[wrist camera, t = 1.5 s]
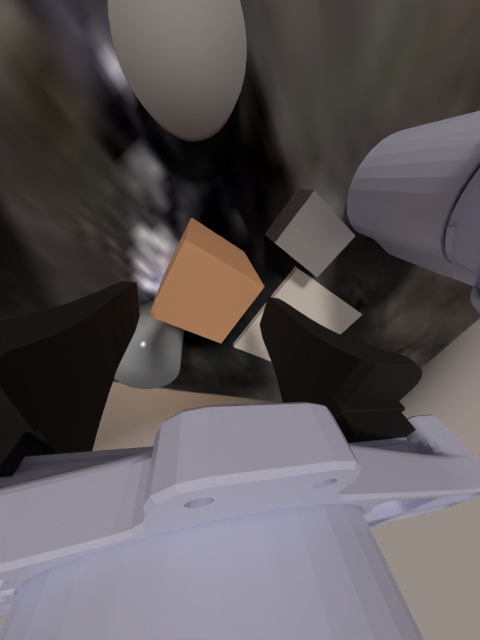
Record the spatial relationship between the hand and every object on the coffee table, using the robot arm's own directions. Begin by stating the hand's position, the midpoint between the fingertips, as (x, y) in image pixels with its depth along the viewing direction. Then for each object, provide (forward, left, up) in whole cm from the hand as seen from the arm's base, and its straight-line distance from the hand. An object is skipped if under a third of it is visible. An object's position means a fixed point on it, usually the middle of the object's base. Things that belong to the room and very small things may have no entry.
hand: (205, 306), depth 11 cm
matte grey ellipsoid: (+6, -9, -8) cm, 13 cm away
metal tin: (-6, -7, -8) cm, 12 cm away
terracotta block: (0, 0, -8) cm, 8 cm away
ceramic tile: (-13, +1, -8) cm, 15 cm away
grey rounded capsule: (+1, +8, -8) cm, 11 cm away
